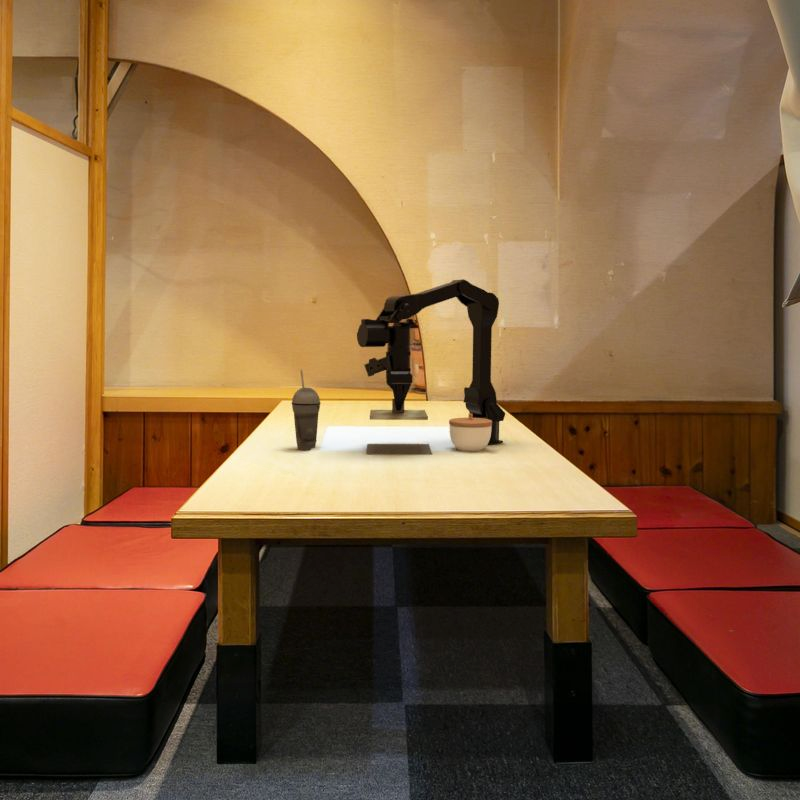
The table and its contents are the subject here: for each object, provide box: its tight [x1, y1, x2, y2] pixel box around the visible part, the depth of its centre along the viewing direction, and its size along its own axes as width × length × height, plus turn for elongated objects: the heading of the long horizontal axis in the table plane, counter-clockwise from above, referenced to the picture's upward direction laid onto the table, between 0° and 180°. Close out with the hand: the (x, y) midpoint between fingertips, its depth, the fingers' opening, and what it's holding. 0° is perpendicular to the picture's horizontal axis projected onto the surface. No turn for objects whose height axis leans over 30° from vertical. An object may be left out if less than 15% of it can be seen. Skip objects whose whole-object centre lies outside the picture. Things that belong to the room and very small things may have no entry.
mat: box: [365, 443, 433, 456], centre depth 191 cm, size 16×16×1 cm
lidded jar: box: [448, 413, 492, 452], centre depth 191 cm, size 11×11×9 cm
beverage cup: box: [291, 369, 321, 451], centre depth 192 cm, size 7×7×20 cm
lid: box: [369, 398, 429, 421], centre depth 190 cm, size 14×14×4 cm
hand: (398, 409), depth 190 cm, fingers closed on lid, 3 cm apart
